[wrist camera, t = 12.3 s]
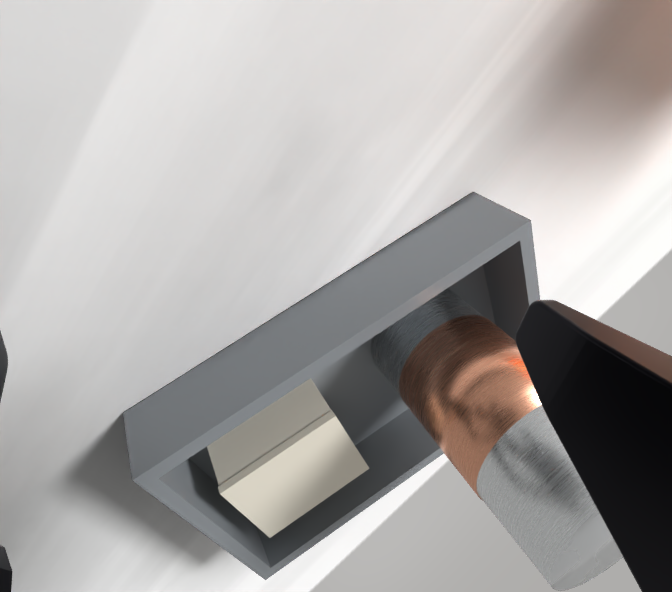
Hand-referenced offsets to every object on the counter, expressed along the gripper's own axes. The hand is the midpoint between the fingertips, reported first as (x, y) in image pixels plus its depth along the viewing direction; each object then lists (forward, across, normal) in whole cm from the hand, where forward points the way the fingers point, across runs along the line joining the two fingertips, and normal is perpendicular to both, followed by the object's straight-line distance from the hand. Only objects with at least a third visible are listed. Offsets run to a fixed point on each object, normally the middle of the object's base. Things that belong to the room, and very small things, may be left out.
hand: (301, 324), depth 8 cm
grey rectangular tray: (+12, -7, +14) cm, 19 cm away
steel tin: (+13, -10, +11) cm, 20 cm away
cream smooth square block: (+11, -2, +16) cm, 19 cm away
